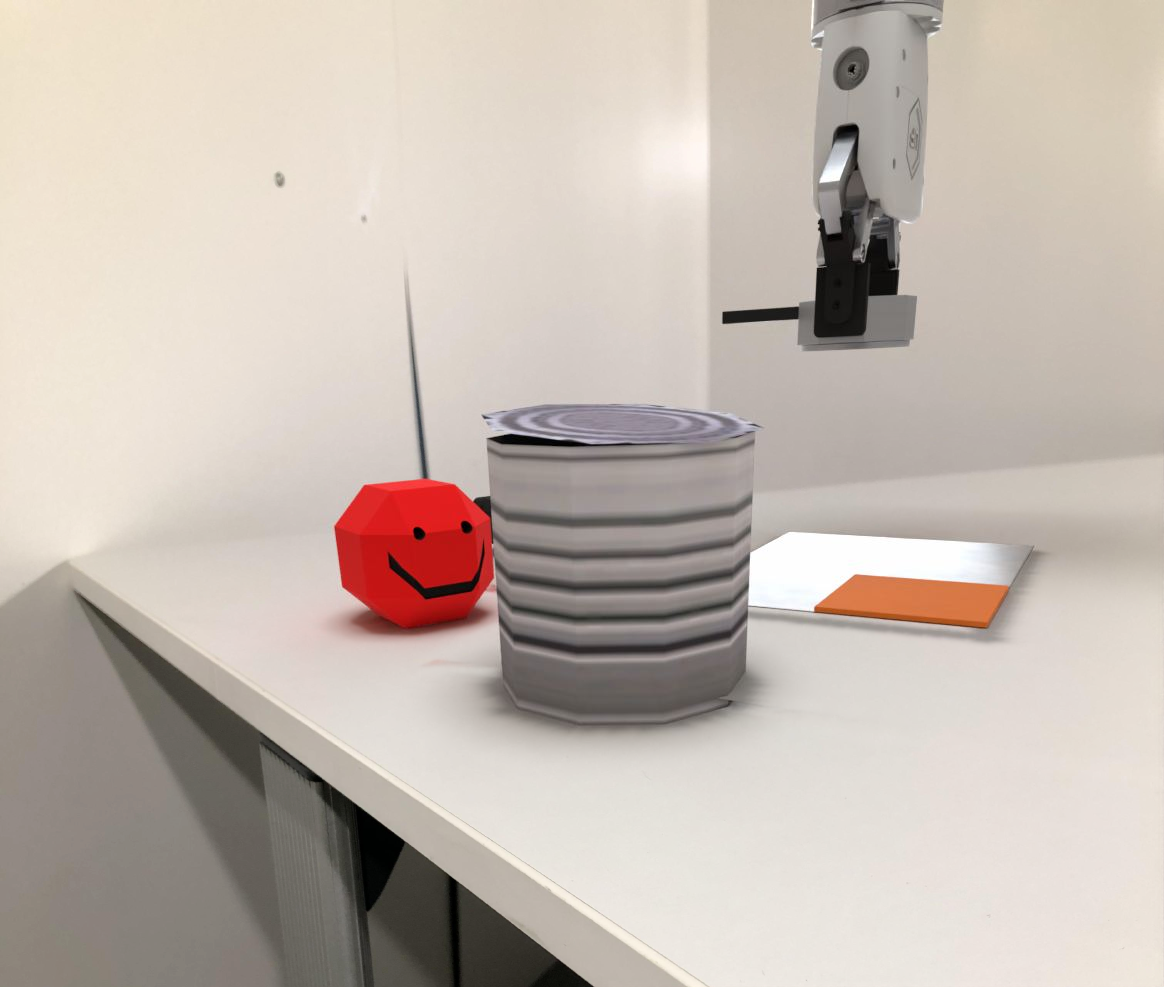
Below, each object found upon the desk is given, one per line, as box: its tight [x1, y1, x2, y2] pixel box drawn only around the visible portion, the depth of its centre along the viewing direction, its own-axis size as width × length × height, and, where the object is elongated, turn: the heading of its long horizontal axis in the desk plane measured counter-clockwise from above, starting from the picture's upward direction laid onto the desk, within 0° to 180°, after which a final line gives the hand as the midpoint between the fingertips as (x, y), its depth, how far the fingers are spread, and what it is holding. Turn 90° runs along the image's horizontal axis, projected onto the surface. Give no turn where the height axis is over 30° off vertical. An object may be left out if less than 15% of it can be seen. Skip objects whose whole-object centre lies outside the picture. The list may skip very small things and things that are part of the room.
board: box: [748, 531, 1035, 630], centre depth 63 cm, size 24×18×1 cm
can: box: [481, 403, 766, 726], centre depth 42 cm, size 11×11×12 cm
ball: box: [333, 478, 495, 630], centre depth 55 cm, size 8×8×8 cm
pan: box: [721, 294, 918, 352], centre depth 65 cm, size 13×7×3 cm, turn 61°
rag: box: [814, 574, 1010, 628], centre depth 54 cm, size 9×9×1 cm
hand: (855, 333), depth 63 cm, fingers closed on pan, 7 cm apart
